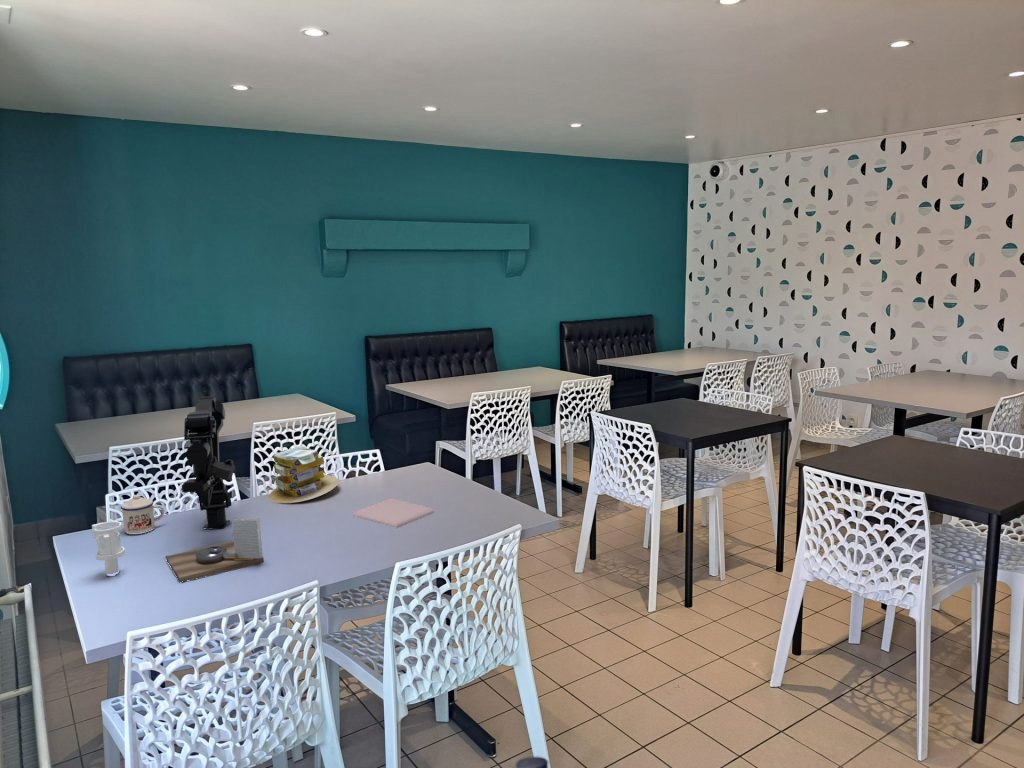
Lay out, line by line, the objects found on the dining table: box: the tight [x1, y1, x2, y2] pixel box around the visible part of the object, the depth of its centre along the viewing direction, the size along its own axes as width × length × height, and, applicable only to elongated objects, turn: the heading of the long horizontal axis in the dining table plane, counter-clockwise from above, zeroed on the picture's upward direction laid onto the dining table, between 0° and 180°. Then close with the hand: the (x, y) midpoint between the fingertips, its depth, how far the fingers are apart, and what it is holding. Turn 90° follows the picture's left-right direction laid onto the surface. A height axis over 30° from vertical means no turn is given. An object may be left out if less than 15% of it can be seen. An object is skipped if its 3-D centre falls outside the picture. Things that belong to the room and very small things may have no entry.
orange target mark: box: [234, 558, 254, 560], centre depth 206 cm, size 5×1×1 cm, turn 87°
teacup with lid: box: [120, 494, 165, 533], centre depth 233 cm, size 12×9×12 cm
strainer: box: [91, 520, 126, 574], centre depth 200 cm, size 7×7×15 cm
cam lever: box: [196, 517, 264, 563], centre depth 205 cm, size 18×8×11 cm, turn 86°
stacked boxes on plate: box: [268, 445, 340, 504], centre depth 267 cm, size 25×25×17 cm
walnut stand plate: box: [165, 540, 265, 583], centre depth 208 cm, size 18×22×2 cm
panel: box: [352, 497, 435, 528], centre depth 240 cm, size 35×33×2 cm
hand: (207, 506), depth 219 cm, fingers closed
